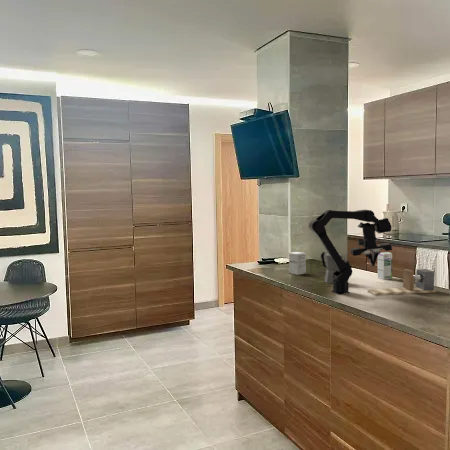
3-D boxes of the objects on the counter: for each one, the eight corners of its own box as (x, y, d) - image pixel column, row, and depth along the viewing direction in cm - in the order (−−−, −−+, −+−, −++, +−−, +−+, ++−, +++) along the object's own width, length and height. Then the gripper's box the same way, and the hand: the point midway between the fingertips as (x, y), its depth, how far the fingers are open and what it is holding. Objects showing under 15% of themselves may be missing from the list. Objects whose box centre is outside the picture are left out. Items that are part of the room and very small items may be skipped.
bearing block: (424, 290, 214) (424, 272, 213) (416, 287, 221) (416, 269, 220) (433, 290, 215) (434, 271, 214) (425, 286, 221) (425, 269, 221)
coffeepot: (348, 282, 240) (348, 249, 239) (336, 285, 235) (336, 251, 233) (327, 278, 253) (327, 246, 251) (315, 280, 248) (315, 248, 246)
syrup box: (383, 279, 245) (383, 253, 244) (377, 277, 251) (377, 252, 250) (392, 278, 247) (392, 252, 245) (386, 276, 252) (386, 251, 251)
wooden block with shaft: (409, 290, 214) (409, 271, 213) (403, 287, 220) (403, 269, 219) (433, 288, 215) (433, 270, 214) (426, 286, 221) (426, 268, 220)
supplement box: (288, 273, 269) (288, 252, 268) (297, 271, 274) (297, 251, 273) (297, 275, 263) (297, 254, 262) (306, 273, 268) (306, 252, 267)
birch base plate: (374, 295, 211) (374, 293, 211) (367, 291, 219) (367, 289, 219) (435, 292, 214) (435, 290, 214) (426, 288, 222) (426, 286, 222)
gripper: (383, 229, 225) (386, 259, 227) (346, 235, 226) (350, 265, 228) (390, 233, 214) (394, 264, 216) (351, 239, 215) (355, 270, 217)
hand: (373, 266), depth 219 cm, fingers closed
